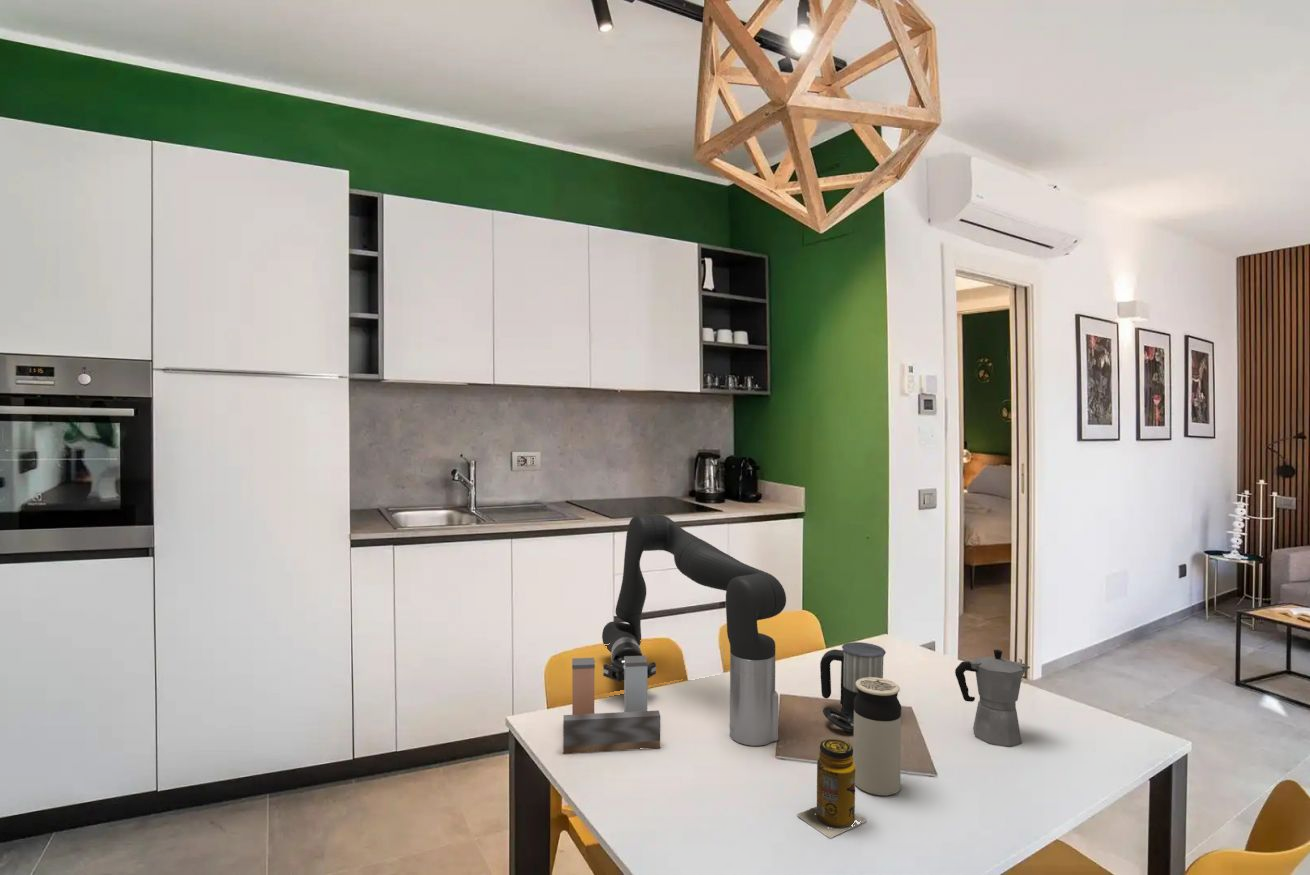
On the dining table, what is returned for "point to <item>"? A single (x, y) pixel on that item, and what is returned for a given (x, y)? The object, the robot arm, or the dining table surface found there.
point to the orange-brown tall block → (583, 685)
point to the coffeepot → (994, 697)
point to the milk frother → (849, 677)
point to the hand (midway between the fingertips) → (633, 683)
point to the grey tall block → (635, 683)
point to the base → (611, 731)
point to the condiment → (834, 790)
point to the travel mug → (877, 736)
